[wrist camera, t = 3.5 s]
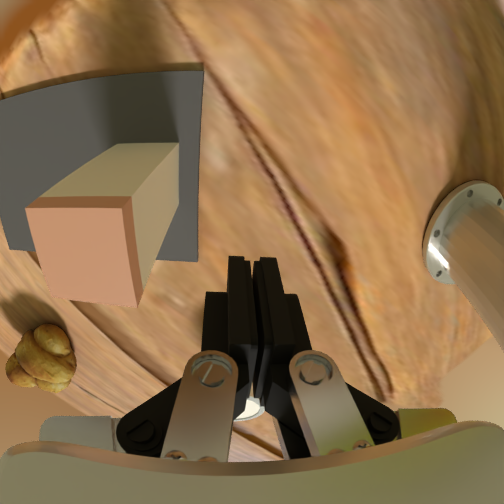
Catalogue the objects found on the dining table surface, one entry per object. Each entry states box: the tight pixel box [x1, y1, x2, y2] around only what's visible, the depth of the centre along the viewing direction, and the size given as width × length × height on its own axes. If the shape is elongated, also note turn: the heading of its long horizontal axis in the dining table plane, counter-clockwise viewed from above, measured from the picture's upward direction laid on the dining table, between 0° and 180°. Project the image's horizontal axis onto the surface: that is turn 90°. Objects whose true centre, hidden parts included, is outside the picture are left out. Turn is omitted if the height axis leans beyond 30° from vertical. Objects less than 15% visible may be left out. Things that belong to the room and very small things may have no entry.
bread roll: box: [6, 324, 77, 393], centre depth 30 cm, size 13×10×8 cm
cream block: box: [25, 143, 179, 308], centre depth 16 cm, size 5×5×12 cm
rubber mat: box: [0, 71, 204, 262], centre depth 21 cm, size 22×16×1 cm
